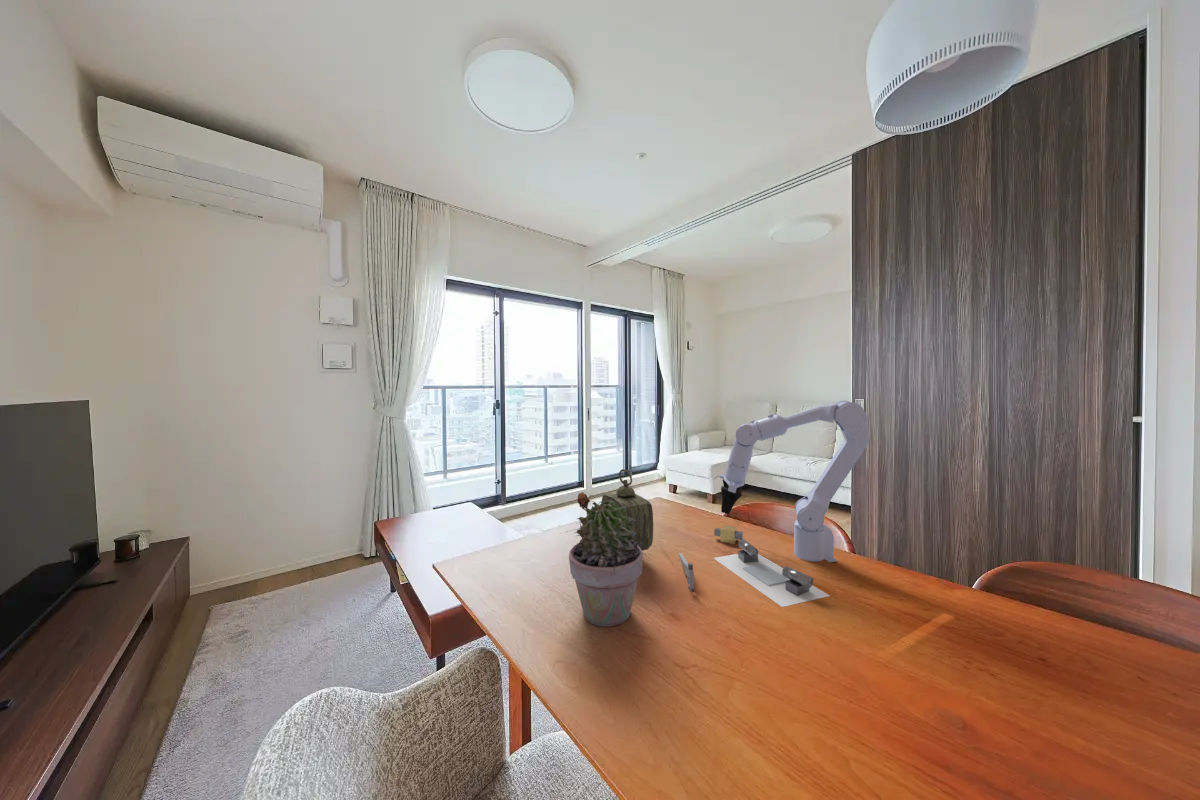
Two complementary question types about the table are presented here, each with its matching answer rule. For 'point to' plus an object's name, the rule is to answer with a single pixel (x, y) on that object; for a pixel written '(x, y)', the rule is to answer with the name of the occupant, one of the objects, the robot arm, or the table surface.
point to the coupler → (728, 534)
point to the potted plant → (605, 563)
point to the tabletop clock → (634, 511)
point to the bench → (768, 580)
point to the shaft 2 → (797, 581)
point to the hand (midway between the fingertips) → (725, 508)
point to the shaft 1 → (747, 552)
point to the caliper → (688, 571)
